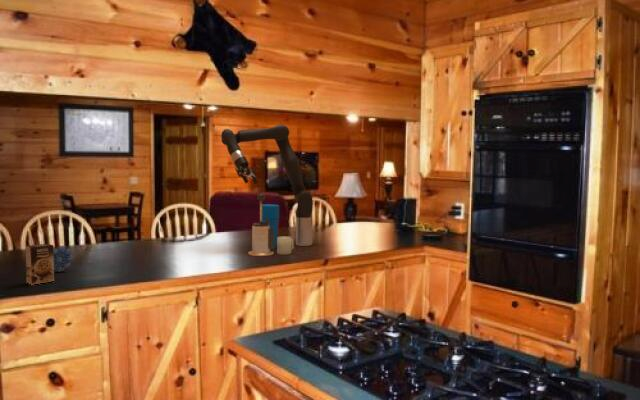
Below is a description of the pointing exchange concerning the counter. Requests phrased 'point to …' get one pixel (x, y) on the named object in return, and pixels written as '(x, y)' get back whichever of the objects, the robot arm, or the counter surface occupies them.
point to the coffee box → (39, 264)
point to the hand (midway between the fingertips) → (252, 183)
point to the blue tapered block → (271, 218)
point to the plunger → (261, 197)
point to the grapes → (61, 258)
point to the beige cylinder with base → (262, 240)
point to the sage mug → (284, 245)
